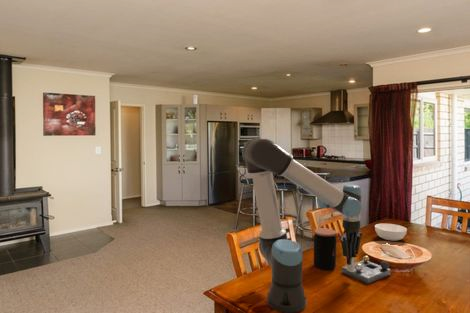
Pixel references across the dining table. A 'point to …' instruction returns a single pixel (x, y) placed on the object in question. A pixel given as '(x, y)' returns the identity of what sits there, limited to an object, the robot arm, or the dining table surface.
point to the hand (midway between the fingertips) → (350, 270)
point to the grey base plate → (367, 272)
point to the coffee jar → (325, 249)
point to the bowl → (390, 231)
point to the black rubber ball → (384, 264)
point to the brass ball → (366, 258)
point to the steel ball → (358, 267)
